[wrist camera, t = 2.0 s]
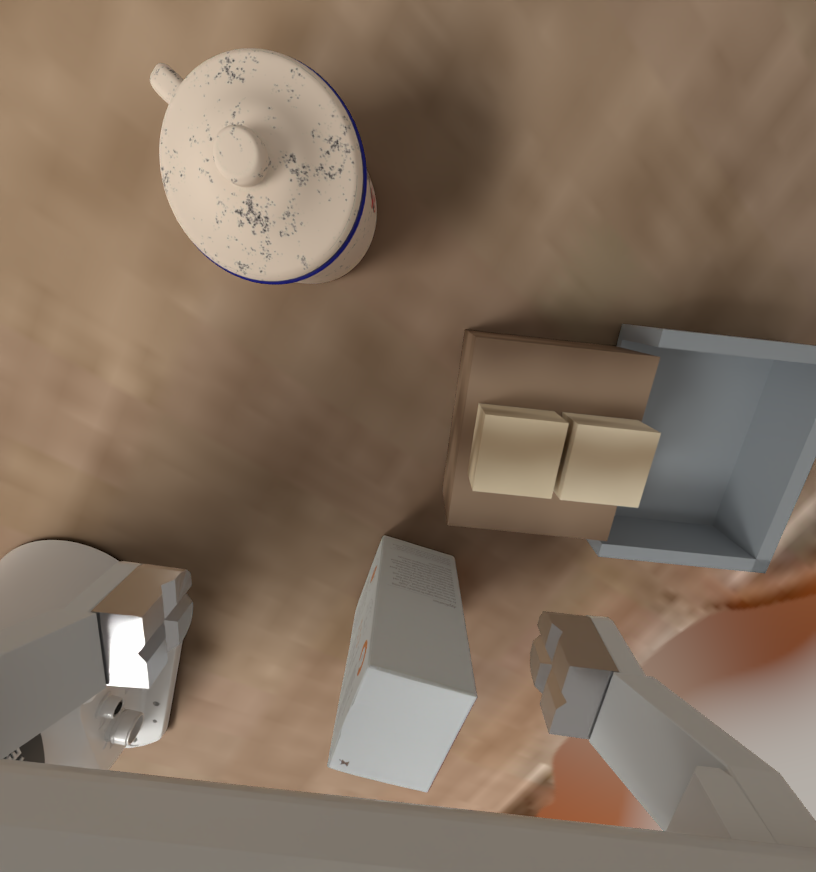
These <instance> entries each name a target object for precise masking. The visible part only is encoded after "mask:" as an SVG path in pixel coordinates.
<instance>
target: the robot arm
mask: <svg viewBox="0 0 816 872" xmlns="http://www.w3.org/2000/svg"><path fill="white" fill-rule="evenodd" d="M191 586H192V580H191V573H190V572H189V571H188V570H187V569H179V568H172V567H165V566H158V565H151V564H141V563H134V562H127V561H121V562H119V561H118V560H116V559H115V558H113V557H111V556H110V555H108V554H106V553H104V552H102V551H100V550H97V549H95V548H92V547H90V546H87V545H83V544H80V543H76V542H70V541H63V540H42V541H35V542H31V543H27V544H24V545H22V546H19V547H17V548H15V549H14V550H12V551H10V552H9V553H8V554H6V555H5V556H4V557H3V558H2V559H1V560H0V872H816V821H815V820H814V818H813V817H812V816H811V814H810V813H809V812H808V810H807V809H806V807H804V805H803V804H802V802H801V801H800V800H799V798H798V797H797V796H796V794H795V793H794V792H793V790H792V789H791V788H790V786H789V785H788V784H787V782H786V781H785V780H784V778H783V777H782V776H781V775H780V773H778V772H777V771H776V770H775V769H773V768H772V767H771V766H769V765H768V764H767V763H765V762H764V761H763V760H761V759H760V758H759V757H758V756H756V755H755V754H753V753H752V752H751V751H750V750H748V749H747V748H746V747H744V746H743V745H742V744H740V743H739V742H738V741H737V740H735V739H734V738H733V737H731V736H730V735H729V734H727V733H726V732H725V731H724V730H722V729H721V728H720V727H718V726H717V725H715V724H714V723H713V722H712V721H710V720H709V719H708V718H706V717H705V716H704V715H702V714H701V713H700V712H698V711H697V710H696V709H695V708H693V707H692V706H691V705H689V704H688V703H687V702H685V701H684V700H683V699H682V698H680V697H679V696H677V695H676V694H675V693H674V692H672V691H671V690H670V689H668V688H667V687H666V686H664V685H663V684H662V683H661V682H659V681H658V680H657V679H655V678H654V677H650V676H646V675H645V673H644V672H643V670H642V668H641V667H640V665H639V663H638V662H637V660H636V658H635V657H634V655H633V654H632V652H631V650H630V649H629V647H628V645H627V644H626V642H625V640H624V639H623V637H622V635H621V634H620V632H619V630H618V629H617V627H616V625H615V624H614V622H613V621H612V620H611V619H610V618H608V617H600V616H589V615H586V616H582V615H573V614H564V613H555V612H546V611H543V612H542V614H541V615H540V617H539V621H538V624H537V626H538V628H539V631H540V634H541V635H539V636H538V637H537V638H536V639H534V640H533V643H532V648H531V652H530V668H531V675H532V679H533V682H534V686H535V687H536V688H537V689H538V690H539V691H540V692H541V693H542V694H543V695H542V698H541V702H540V706H541V709H542V713H543V716H544V719H545V722H546V726H547V729H548V732H549V734H555V735H562V736H569V737H576V738H583V739H590V741H589V742H590V743H591V744H592V746H593V747H594V748H595V749H596V750H597V752H598V753H599V754H600V755H601V756H602V758H603V759H604V760H605V761H606V763H607V764H608V765H609V766H610V767H611V769H612V770H613V771H614V772H615V773H616V775H617V776H618V777H619V778H620V779H621V780H622V782H623V783H624V784H625V785H626V787H627V788H628V789H629V790H630V791H631V793H632V794H633V795H634V796H635V797H636V799H637V800H638V801H639V802H640V803H641V805H642V806H643V807H644V808H645V810H646V811H647V812H648V813H649V814H650V816H651V817H652V818H653V819H654V820H655V821H656V823H657V824H658V825H659V826H660V828H661V829H662V830H663V831H658V830H649V829H639V828H630V827H621V826H612V825H603V824H594V823H584V822H576V821H567V820H557V819H548V818H539V817H530V816H521V815H512V814H503V813H494V812H485V811H475V810H466V809H457V808H448V807H439V806H430V805H421V804H411V803H402V802H393V801H384V800H375V799H366V798H357V797H347V796H338V795H329V794H320V793H311V792H302V791H292V790H283V789H274V788H265V787H256V786H247V785H238V784H229V783H219V782H210V781H201V780H192V779H183V778H174V777H165V776H156V775H147V774H138V773H129V772H120V771H110V770H109V769H110V768H111V767H112V765H113V764H114V763H115V761H116V760H117V759H118V757H119V756H120V754H121V753H122V751H123V750H124V749H125V748H132V747H139V746H143V745H147V744H150V743H153V742H155V741H158V740H159V739H160V738H161V737H162V736H163V734H164V733H165V732H166V730H167V727H168V723H169V717H170V711H171V706H172V700H173V694H174V688H175V683H176V677H177V671H178V665H179V660H180V654H181V648H182V642H183V639H184V637H185V635H186V634H187V631H188V629H189V626H190V623H191V621H192V614H193V601H192V600H191V598H190V597H189V596H188V595H187V593H186V592H187V591H188V590H189V588H190V587H191Z"/></svg>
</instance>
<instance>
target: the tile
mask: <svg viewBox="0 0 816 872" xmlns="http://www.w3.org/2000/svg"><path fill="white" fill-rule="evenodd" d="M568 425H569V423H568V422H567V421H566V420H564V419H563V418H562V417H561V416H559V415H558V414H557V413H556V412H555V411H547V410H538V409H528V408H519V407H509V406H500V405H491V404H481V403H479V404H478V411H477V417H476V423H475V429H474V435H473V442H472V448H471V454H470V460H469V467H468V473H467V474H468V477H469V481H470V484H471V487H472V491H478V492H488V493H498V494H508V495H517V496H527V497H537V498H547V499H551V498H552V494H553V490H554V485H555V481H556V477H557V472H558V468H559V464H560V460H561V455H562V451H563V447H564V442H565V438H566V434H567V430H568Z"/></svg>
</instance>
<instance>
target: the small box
mask: <svg viewBox="0 0 816 872" xmlns="http://www.w3.org/2000/svg"><path fill="white" fill-rule="evenodd" d="M476 699H477V692H476V686H475V680H474V674H473V668H472V662H471V655H470V649H469V643H468V637H467V631H466V625H465V619H464V612H463V606H462V600H461V594H460V588H459V581H458V575H457V569H456V563H455V558H454V557H453V556H452V555H448V554H445V553H442V552H438V551H435V550H432V549H428V548H425V547H422V546H419V545H415V544H412V543H409V542H406V541H403V540H399V539H396V538H392V537H389V536H386V535H384V536H383V537H382V540H381V542H380V545H379V547H378V550H377V553H376V555H375V558H374V561H373V563H372V566H371V569H370V571H369V574H368V577H367V580H366V582H365V585H364V588H363V591H362V593H361V596H360V599H359V602H358V605H357V608H356V611H355V618H354V623H353V629H352V635H351V641H350V647H349V653H348V658H347V663H346V668H345V673H344V678H343V683H342V688H341V694H340V699H339V704H338V710H337V715H336V721H335V726H334V731H333V737H332V742H331V748H330V753H329V758H328V764H327V766H328V767H329V768H332V769H335V770H338V771H342V772H345V773H349V774H352V775H356V776H360V777H364V778H368V779H372V780H376V781H380V782H384V783H388V784H393V785H397V786H401V787H405V788H410V789H414V790H419V791H423V792H428V791H429V790H430V788H431V786H432V784H433V782H434V780H435V778H436V776H437V774H438V772H439V770H440V768H441V766H442V765H443V763H444V761H445V759H446V757H447V755H448V753H449V751H450V749H451V747H452V745H453V743H454V741H455V739H456V738H457V736H458V734H459V732H460V730H461V728H462V726H463V724H464V722H465V720H466V718H467V716H468V714H469V712H470V711H471V709H472V707H473V705H474V703H475V701H476Z"/></svg>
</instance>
